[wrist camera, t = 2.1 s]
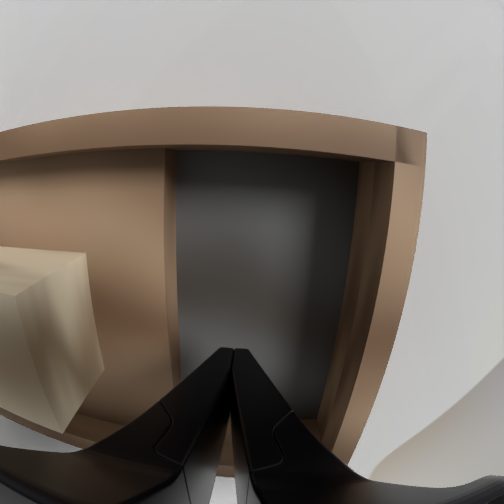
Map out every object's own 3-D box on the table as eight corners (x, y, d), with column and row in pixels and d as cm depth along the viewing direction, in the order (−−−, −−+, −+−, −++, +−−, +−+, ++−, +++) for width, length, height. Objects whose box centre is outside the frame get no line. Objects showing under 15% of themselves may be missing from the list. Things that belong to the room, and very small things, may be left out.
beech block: (104, 369, 11) (62, 433, 7) (20, 347, 11) (-27, 392, 7) (86, 252, 10) (15, 295, 6) (-2, 246, 10) (-67, 276, 6)
